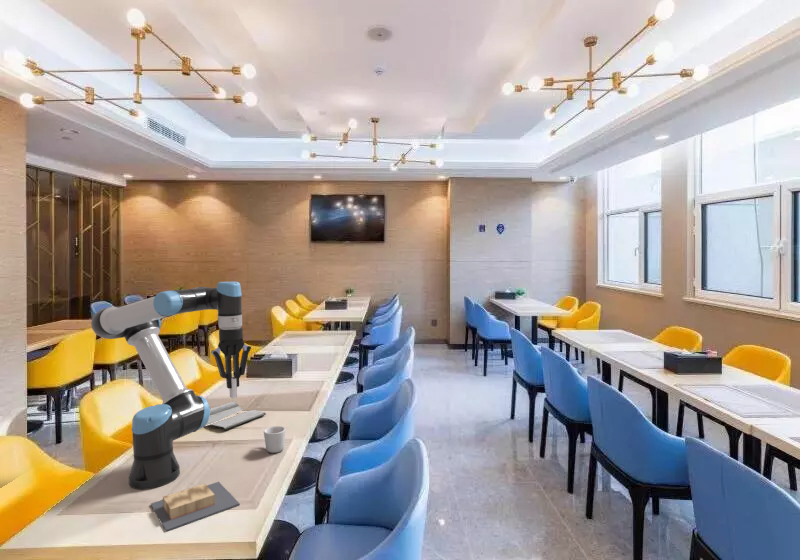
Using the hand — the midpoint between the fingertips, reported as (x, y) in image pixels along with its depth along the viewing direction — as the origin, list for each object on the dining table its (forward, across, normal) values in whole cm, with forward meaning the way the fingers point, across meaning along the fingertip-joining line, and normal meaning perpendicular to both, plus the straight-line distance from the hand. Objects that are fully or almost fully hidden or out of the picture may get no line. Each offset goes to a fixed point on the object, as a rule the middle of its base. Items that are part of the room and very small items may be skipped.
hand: (233, 397), depth 158 cm
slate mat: (+26, -17, -12) cm, 34 cm away
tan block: (+24, -13, -12) cm, 30 cm away
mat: (+27, +17, +55) cm, 64 cm away
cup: (+27, +18, +10) cm, 34 cm away
